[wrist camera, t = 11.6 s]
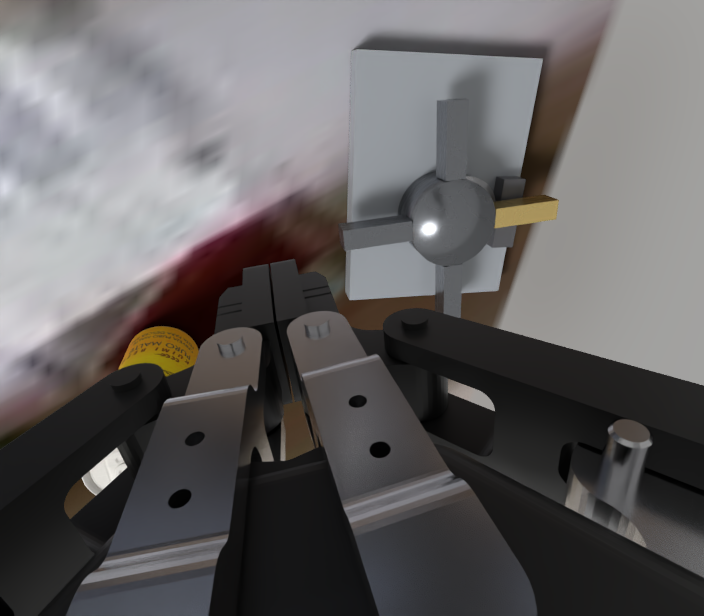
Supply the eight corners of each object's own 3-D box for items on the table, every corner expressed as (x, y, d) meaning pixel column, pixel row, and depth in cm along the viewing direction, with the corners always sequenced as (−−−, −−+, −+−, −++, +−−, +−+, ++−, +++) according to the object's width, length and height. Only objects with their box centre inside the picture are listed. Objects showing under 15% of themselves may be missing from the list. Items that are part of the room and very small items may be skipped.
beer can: (200, 323, 41) (177, 435, 28) (199, 377, 43) (178, 504, 30) (128, 320, 39) (68, 438, 26) (132, 377, 42) (79, 510, 29)
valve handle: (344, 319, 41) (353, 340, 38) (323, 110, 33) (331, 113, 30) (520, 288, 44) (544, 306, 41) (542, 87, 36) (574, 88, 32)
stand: (351, 51, 33) (361, 47, 30) (529, 59, 36) (554, 57, 33) (345, 291, 42) (352, 306, 39) (488, 282, 45) (505, 296, 42)
